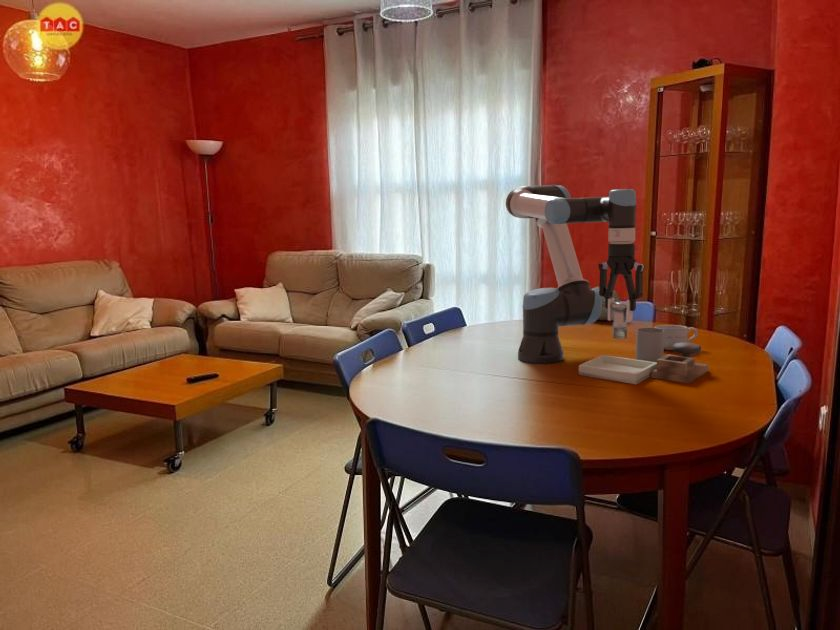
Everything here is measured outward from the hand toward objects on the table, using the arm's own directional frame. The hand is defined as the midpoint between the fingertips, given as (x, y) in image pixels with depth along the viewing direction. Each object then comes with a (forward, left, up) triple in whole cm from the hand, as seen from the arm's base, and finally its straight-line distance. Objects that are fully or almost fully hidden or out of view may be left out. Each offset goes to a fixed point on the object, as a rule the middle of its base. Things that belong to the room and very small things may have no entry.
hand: (620, 320), depth 190 cm
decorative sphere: (-43, +77, -17) cm, 90 cm away
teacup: (+2, +41, -17) cm, 44 cm away
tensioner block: (+15, +10, -16) cm, 24 cm away
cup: (+1, +21, -17) cm, 27 cm away
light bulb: (0, 0, -5) cm, 5 cm away
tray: (0, 0, -16) cm, 16 cm away
